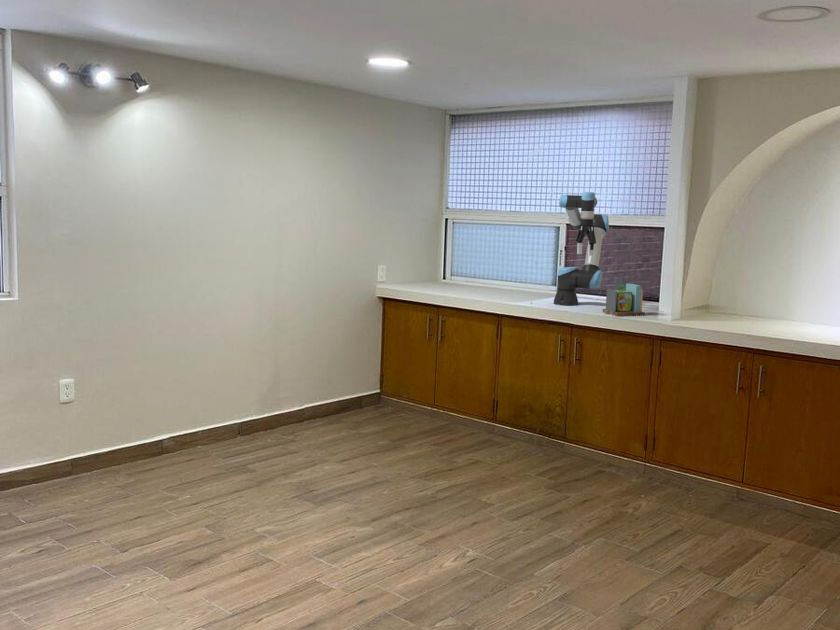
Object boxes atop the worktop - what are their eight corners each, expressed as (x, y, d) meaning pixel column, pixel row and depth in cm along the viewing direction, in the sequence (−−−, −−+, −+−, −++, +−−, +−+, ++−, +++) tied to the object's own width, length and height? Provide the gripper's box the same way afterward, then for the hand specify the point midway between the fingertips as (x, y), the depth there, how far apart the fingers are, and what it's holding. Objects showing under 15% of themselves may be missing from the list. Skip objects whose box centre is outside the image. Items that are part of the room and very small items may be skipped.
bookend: (605, 309, 468) (606, 289, 466) (606, 309, 468) (608, 289, 467) (614, 312, 459) (615, 291, 457) (615, 312, 459) (617, 291, 457)
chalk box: (616, 311, 460) (618, 286, 458) (609, 309, 469) (611, 284, 466) (631, 311, 462) (633, 286, 460) (624, 309, 471) (625, 284, 469)
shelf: (602, 312, 471) (602, 308, 471) (629, 311, 476) (629, 308, 476) (616, 316, 456) (616, 312, 456) (644, 315, 461) (644, 312, 461)
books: (624, 309, 472) (626, 283, 470) (631, 309, 474) (633, 283, 471) (634, 311, 462) (636, 285, 460) (642, 311, 463) (643, 285, 461)
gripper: (571, 217, 483) (569, 253, 486) (591, 219, 460) (589, 256, 463) (582, 218, 486) (580, 253, 489) (603, 219, 462) (601, 256, 465)
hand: (585, 254), depth 476 cm, fingers open, 13 cm apart
